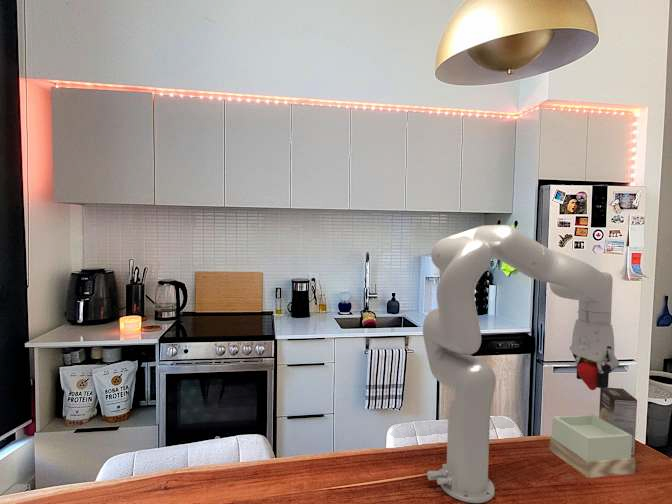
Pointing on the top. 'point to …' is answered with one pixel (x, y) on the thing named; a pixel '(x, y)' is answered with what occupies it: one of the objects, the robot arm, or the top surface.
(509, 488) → the top surface
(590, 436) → the sage top block
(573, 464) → the maple base block
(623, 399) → the coffee box
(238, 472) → the top surface
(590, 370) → the strawberry
